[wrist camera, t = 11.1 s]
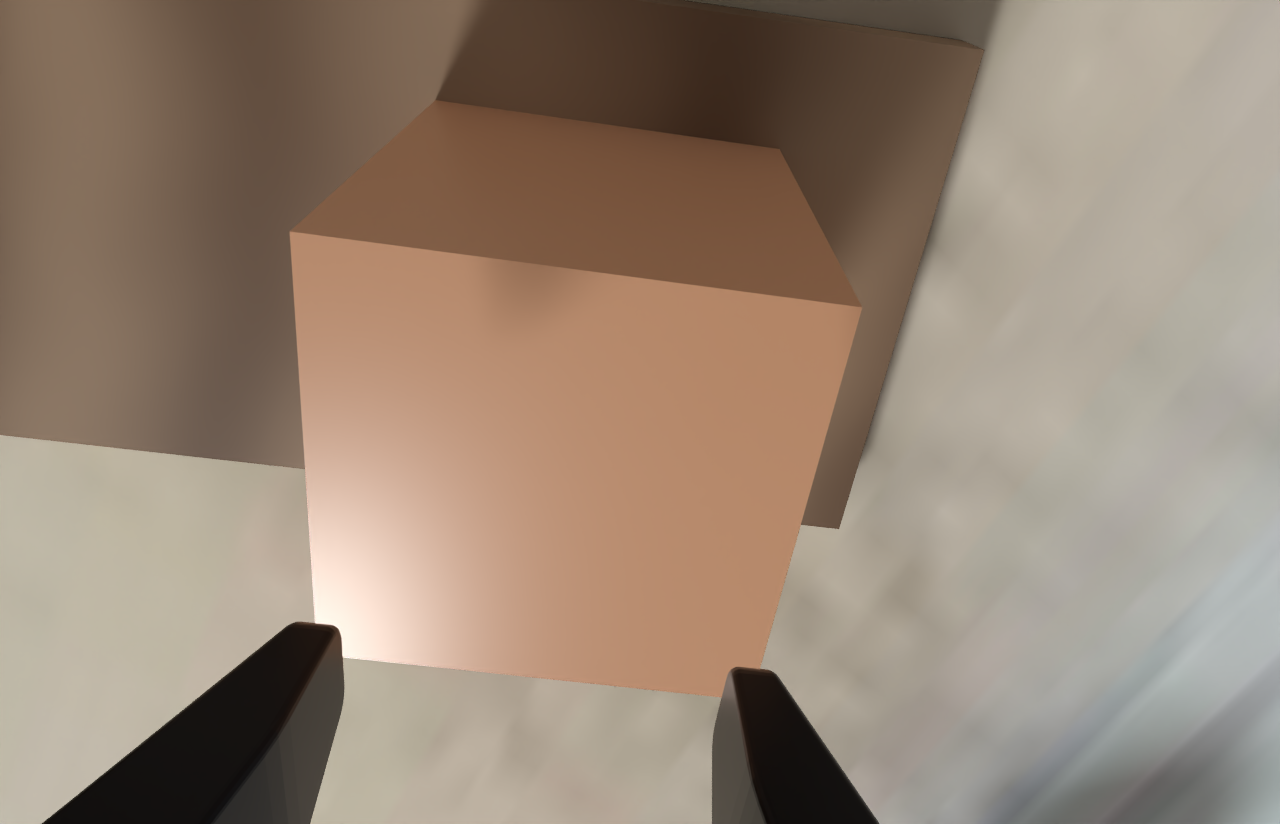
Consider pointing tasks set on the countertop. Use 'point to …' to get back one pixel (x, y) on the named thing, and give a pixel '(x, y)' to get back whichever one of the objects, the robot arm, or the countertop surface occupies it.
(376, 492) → the tan copper cube
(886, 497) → the countertop surface
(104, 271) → the board
